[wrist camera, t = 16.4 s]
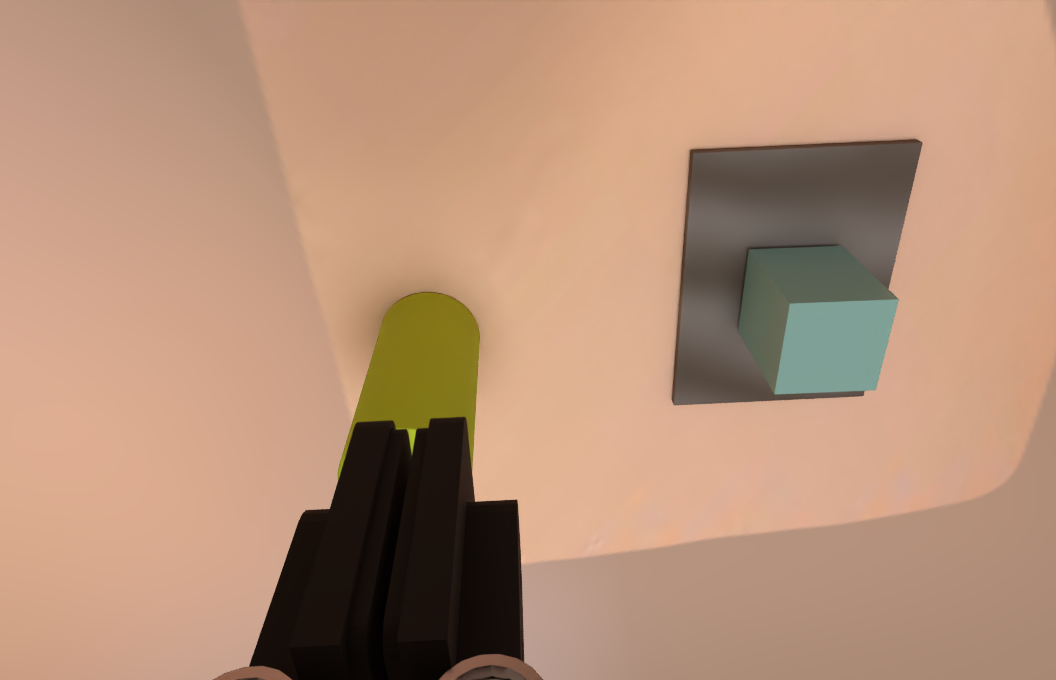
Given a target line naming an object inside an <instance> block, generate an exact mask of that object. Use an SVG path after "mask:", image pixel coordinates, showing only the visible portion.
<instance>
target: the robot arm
mask: <svg viewBox="0 0 1056 680" xmlns="http://www.w3.org/2000/svg"><path fill="white" fill-rule="evenodd" d="M213 680H543V679H542V678H541V677H540V675H539V674H538V673H537V672H536V671H535V670H534V669H533V668H532V667H531V666H529V665H527V664H526V663H524V639H523V606H522V574H521V551H520V532H519V515H518V501H517V500H502V501H482V502H475V497H474V487H473V477H472V467H471V457H470V447H469V437H468V427H467V420H466V417H449V418H431V419H430V422H429V427H428V428H417V430H416V434H415V440H414V446H413V452H412V453H411V446H410V440H409V434H408V431H407V429H396V427H395V423H394V421H392V420H387V421H367V422H357V423H356V424H355V426H354V429H353V433H352V436H351V439H350V443H349V446H348V449H347V453H346V456H345V460H344V463H343V466H342V470H341V473H340V477H339V480H338V483H337V487H336V490H335V494H334V497H333V500H332V504H331V507H330V509H321V510H306V511H305V512H304V513H303V514H302V516H301V518H300V520H299V522H298V525H297V528H296V531H295V534H294V537H293V540H292V543H291V545H290V548H289V551H288V554H287V557H286V560H285V563H284V566H283V569H282V572H281V575H280V578H279V581H278V584H277V586H276V589H275V593H274V595H273V598H272V601H271V604H270V607H269V610H268V613H267V616H266V619H265V621H264V624H263V627H262V630H261V633H260V636H259V639H258V642H257V645H256V648H255V651H254V654H253V657H252V660H251V663H250V665H249V667H243V668H239V669H236V670H233V671H230V672H227V673H224V674H222V675H221V676H219V677H217V678H215V679H213Z"/></svg>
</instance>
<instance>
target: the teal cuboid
mask: <svg viewBox="0 0 1056 680" xmlns="http://www.w3.org/2000/svg"><path fill="white" fill-rule="evenodd" d="M898 300H899V299H898V298H897V297H896V296H895V295H894V294H893V293H892V292H891V291H889V290H888V289H887V288H886V287H885V286H884V285H883V284H882V283H881V282H880V281H879V280H878V279H877V278H876V277H875V276H874V275H873V274H872V273H870V272H869V271H868V270H867V269H866V268H865V267H864V266H863V265H862V264H861V263H860V262H859V261H858V260H857V259H856V258H855V257H854V256H853V255H851V254H850V253H849V252H848V251H847V250H846V249H845V248H844V247H843V246H824V247H798V248H772V249H749V252H748V260H747V267H746V275H745V282H744V290H743V297H742V305H741V312H740V320H739V327H738V332H739V334H740V336H741V337H742V339H743V341H744V343H745V344H746V346H747V348H748V350H749V351H750V353H751V355H752V356H753V358H754V360H755V362H756V363H757V365H758V367H759V369H760V370H761V372H762V374H763V376H764V377H765V379H766V381H767V382H768V384H769V386H770V388H771V389H772V391H773V393H774V394H797V393H821V392H846V391H870V390H876V387H877V383H878V379H879V375H880V371H881V367H882V363H883V359H884V355H885V352H886V348H887V344H888V340H889V336H890V332H891V328H892V324H893V320H894V316H895V312H896V308H897V304H898Z"/></svg>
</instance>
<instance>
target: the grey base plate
mask: <svg viewBox="0 0 1056 680" xmlns="http://www.w3.org/2000/svg"><path fill="white" fill-rule="evenodd" d="M921 147H922V142H920V141H919V140H898V141H876V142H855V143H833V144H811V145H790V146H768V147H747V148H725V149H703V150H691V152H690V166H689V179H688V193H687V206H686V219H685V233H684V246H683V260H682V273H681V287H680V300H679V313H678V327H677V340H676V354H675V367H674V380H673V394H672V401H673V404H674V405H691V404H712V403H732V402H753V401H773V400H793V399H814V398H834V397H855V396H863V395H864V391H846V392H821V393H797V394H774V393H773V391H772V389H771V388H770V386H769V384H768V382H767V381H766V379H765V377H764V376H763V374H762V372H761V370H760V369H759V367H758V365H757V363H756V362H755V360H754V358H753V356H752V355H751V353H750V351H749V350H748V348H747V346H746V344H745V343H744V341H743V339H742V337H741V336H740V334H739V332H738V327H739V320H740V312H741V305H742V297H743V290H744V282H745V275H746V267H747V260H748V252H749V249H772V248H798V247H824V246H843V247H844V248H845V249H846V250H847V251H848V252H849V253H850V254H851V255H853V256H854V257H855V258H856V259H857V260H858V261H859V262H860V263H861V264H862V265H863V266H864V267H865V268H866V269H867V270H868V271H869V272H870V273H872V274H873V275H874V276H875V277H876V278H877V279H878V280H879V281H880V282H881V283H882V284H883V285H884V286H885V287H886V288H887V289H888V288H889V284H890V280H891V275H892V271H893V267H894V263H895V258H896V254H897V250H898V245H899V241H900V237H901V233H902V228H903V224H904V220H905V216H906V211H907V207H908V203H909V198H910V194H911V190H912V186H913V181H914V177H915V173H916V169H917V164H918V160H919V156H920V151H921Z"/></svg>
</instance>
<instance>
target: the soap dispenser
mask: <svg viewBox="0 0 1056 680" xmlns="http://www.w3.org/2000/svg"><path fill="white" fill-rule="evenodd" d="M479 341H480V335H479V328H478V325H477V322H476V320H475V318H474V317H473V315H472V314H471V312H470V311H469V310H468V309H467V308H466V307H465V306H464V305H463V304H462V303H460V302H459V301H457V300H455V299H453V298H451V297H449V296H446V295H443V294H439V293H431V292H425V293H417V294H413V295H410V296H407V297H405V298H403V299H401V300H400V301H398V302H397V303H395V304H394V305H393V306H392V307H391V308H390V309H389V311H388V312H387V314H386V315H385V317H384V320H383V322H382V326H381V329H380V332H379V336H378V339H377V342H376V346H375V349H374V352H373V355H372V359H371V362H370V365H369V369H368V372H367V375H366V379H365V382H364V385H363V388H362V392H361V395H360V398H359V402H358V405H357V408H356V412H355V415H354V418H353V422H352V425H351V428H350V432H349V435H348V438H347V441H346V445H345V448H344V451H343V455H342V458H341V461H340V465H339V469H338V480H339V477H340V473H341V470H342V466H343V463H344V460H345V456H346V453H347V449H348V446H349V443H350V439H351V436H352V433H353V429H354V426H355V424H356V423H357V422H367V421H387V420H392V421H394V423H395V427H396V429H407V431H408V434H409V440H410V446H411V453H412V452H413V446H414V440H415V434H416V430H417V428H428V427H429V422H430V419H431V418H449V417H466V420H467V427H468V437H469V447H470V457H471V467H472V465H473V447H474V429H475V412H476V394H477V376H478V359H479Z"/></svg>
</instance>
